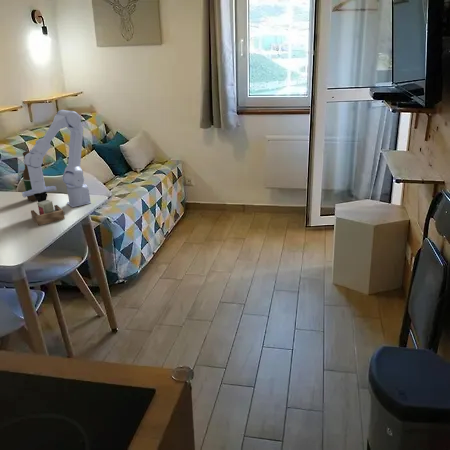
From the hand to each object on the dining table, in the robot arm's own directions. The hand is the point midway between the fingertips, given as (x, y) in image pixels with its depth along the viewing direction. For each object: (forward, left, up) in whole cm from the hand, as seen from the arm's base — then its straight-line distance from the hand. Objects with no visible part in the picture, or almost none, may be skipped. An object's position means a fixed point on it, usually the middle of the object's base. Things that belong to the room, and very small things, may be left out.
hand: (43, 208), depth 218 cm
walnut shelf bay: (0, +7, -3) cm, 8 cm away
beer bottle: (-3, -26, -3) cm, 26 cm away
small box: (0, +6, -3) cm, 7 cm away
